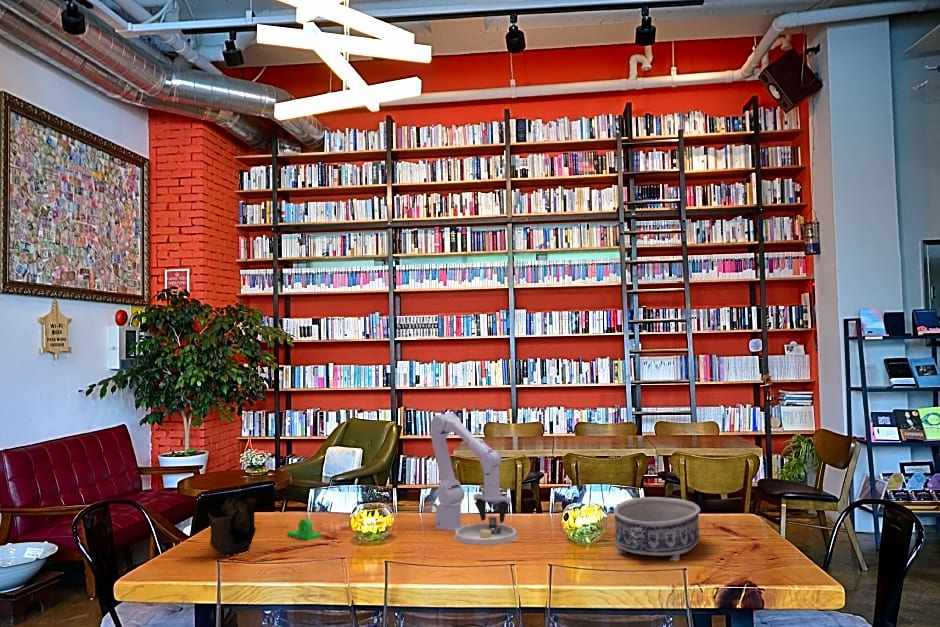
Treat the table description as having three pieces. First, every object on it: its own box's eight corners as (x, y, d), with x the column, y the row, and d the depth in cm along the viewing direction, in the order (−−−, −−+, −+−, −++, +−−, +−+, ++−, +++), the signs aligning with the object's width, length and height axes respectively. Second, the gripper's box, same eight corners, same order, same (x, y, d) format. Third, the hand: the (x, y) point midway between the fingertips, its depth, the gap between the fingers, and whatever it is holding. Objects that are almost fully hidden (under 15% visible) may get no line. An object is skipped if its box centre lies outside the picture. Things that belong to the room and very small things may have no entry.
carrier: (443, 543, 260) (442, 534, 260) (472, 527, 280) (471, 519, 280) (501, 550, 249) (501, 541, 249) (527, 533, 270) (526, 525, 270)
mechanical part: (321, 539, 270) (320, 517, 270) (308, 542, 265) (307, 520, 265) (300, 534, 277) (300, 513, 277) (287, 537, 272) (287, 516, 273)
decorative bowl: (640, 531, 270) (638, 491, 270) (713, 540, 256) (712, 497, 257) (598, 563, 234) (597, 516, 234) (681, 575, 220) (679, 525, 220)
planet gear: (482, 533, 269) (482, 518, 269) (489, 529, 274) (488, 514, 274) (496, 535, 266) (496, 520, 266) (503, 531, 271) (503, 516, 272)
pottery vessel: (237, 543, 265) (236, 489, 266) (265, 544, 263) (264, 489, 264) (200, 565, 240) (200, 504, 241) (231, 566, 238) (230, 505, 239)
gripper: (469, 484, 270) (470, 521, 270) (505, 487, 264) (505, 525, 263) (478, 481, 277) (478, 517, 276) (512, 484, 270) (513, 520, 270)
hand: (492, 521), depth 270 cm, fingers open, 7 cm apart
